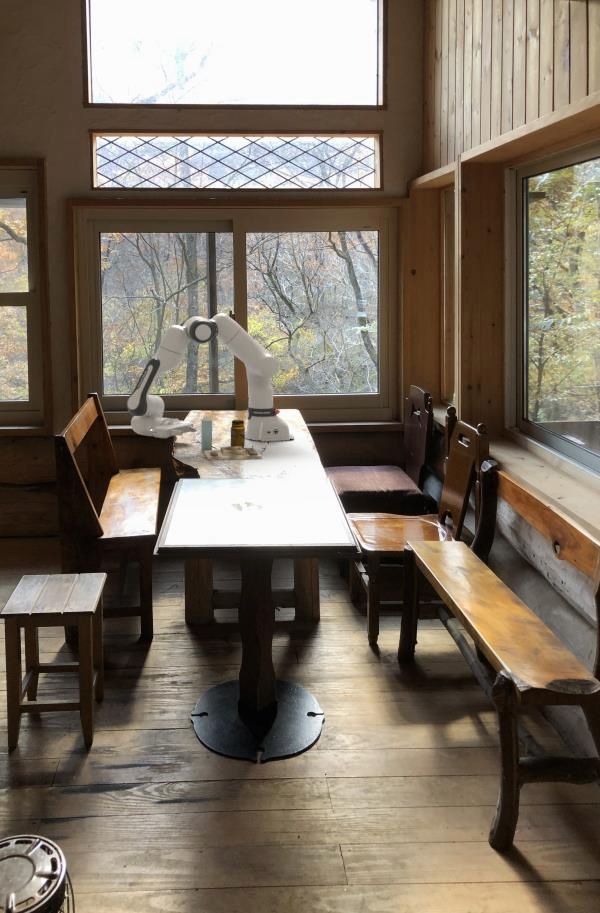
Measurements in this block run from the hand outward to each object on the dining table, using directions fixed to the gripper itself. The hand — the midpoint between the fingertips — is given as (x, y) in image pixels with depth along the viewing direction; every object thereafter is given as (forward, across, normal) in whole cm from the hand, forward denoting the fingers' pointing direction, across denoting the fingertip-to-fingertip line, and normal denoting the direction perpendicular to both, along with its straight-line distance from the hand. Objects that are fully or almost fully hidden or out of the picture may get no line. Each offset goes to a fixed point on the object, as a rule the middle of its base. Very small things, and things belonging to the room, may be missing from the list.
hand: (188, 431), depth 390 cm
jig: (+25, -2, +7) cm, 26 cm away
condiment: (+16, +12, +7) cm, 21 cm away
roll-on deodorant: (+10, 0, +7) cm, 12 cm away
